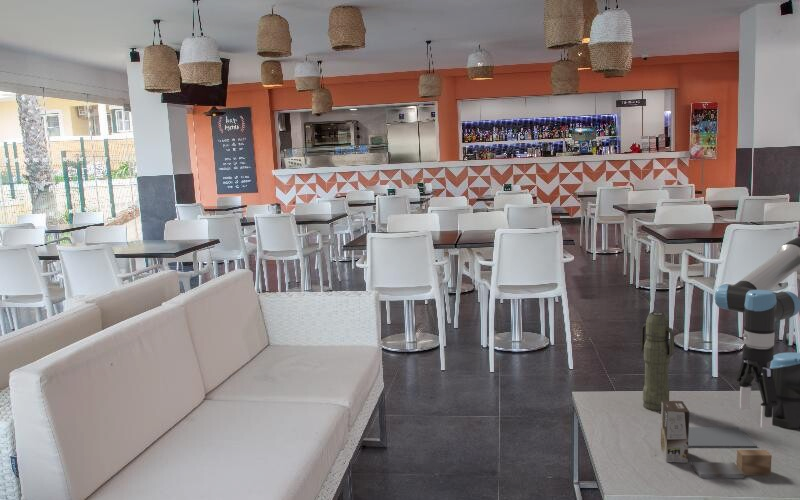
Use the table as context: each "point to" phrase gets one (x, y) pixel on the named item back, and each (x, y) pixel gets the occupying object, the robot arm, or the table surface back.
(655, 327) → the thermos
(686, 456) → the coffee box
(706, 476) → the wood block metal plate
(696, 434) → the mat
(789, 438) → the table surface
